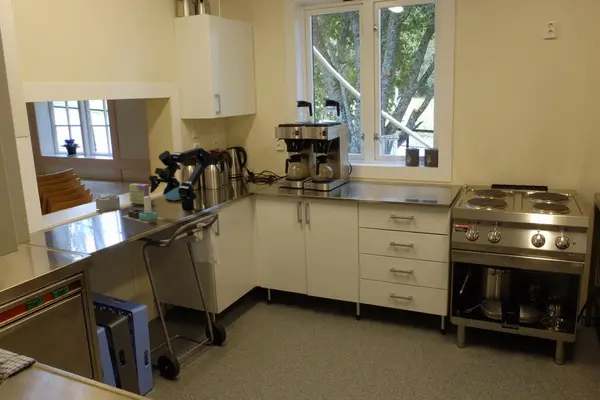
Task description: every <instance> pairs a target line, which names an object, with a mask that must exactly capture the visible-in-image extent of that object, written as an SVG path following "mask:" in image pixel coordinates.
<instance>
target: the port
mask: <svg viewBox="0 0 600 400" xmlns="http://www.w3.org/2000/svg"><path fill="white" fill-rule="evenodd" d="M157 217H158V212H154V211H151V214H149V215H145V213H139V219H141V220H145V221H149V220H154V219H157Z"/></svg>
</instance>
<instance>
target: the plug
mask: <svg viewBox="0 0 600 400" xmlns="http://www.w3.org/2000/svg"><path fill="white" fill-rule="evenodd" d="M143 210H144V213H145V215H149V214H151V212H152V196H150V195H149V196H146V197H144V204H143Z"/></svg>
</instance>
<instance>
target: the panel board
mask: <svg viewBox="0 0 600 400" xmlns="http://www.w3.org/2000/svg"><path fill="white" fill-rule="evenodd" d="M127 213H128V214H126V215H122V216H120V217H121V218H126V219H129V220H134V221H137V222H142V223H145V224H148V223H153V222H157V221H161V220H164V219H165V218H164V217H159V216H157V219H154V220H149V221H145V220H141V219H139V213H144V209H142V208H141V209H140V208H136V209H132V210H131V209H130V210H127Z"/></svg>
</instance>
